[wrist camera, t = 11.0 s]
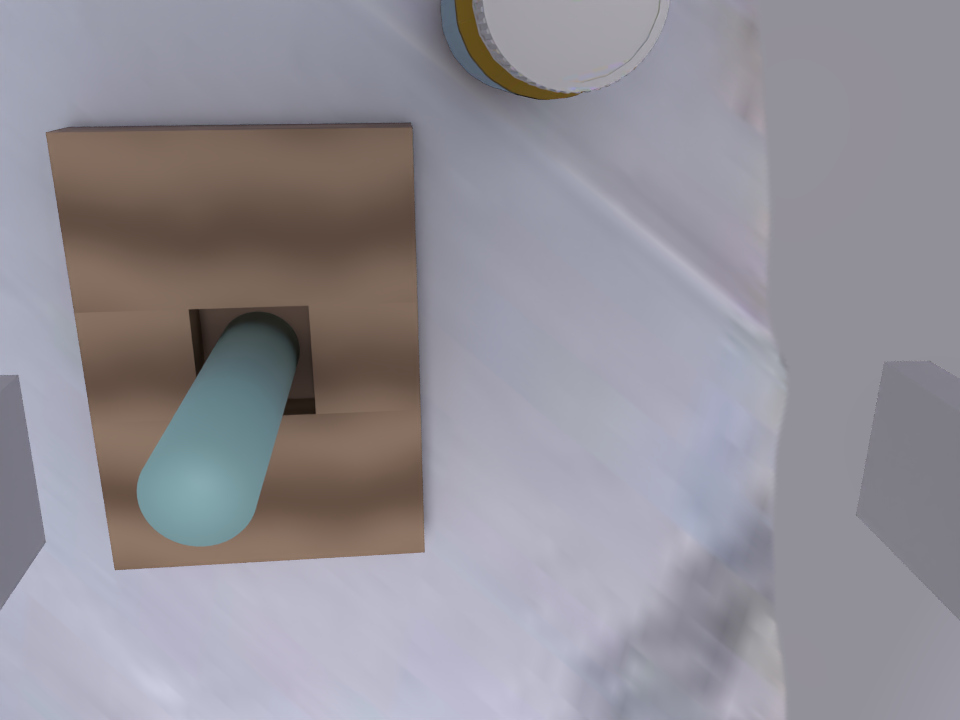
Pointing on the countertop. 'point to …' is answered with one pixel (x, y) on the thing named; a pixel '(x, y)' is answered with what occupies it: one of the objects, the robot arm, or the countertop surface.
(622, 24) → the bottle
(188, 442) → the pin
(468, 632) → the countertop surface
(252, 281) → the bore block
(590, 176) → the countertop surface
